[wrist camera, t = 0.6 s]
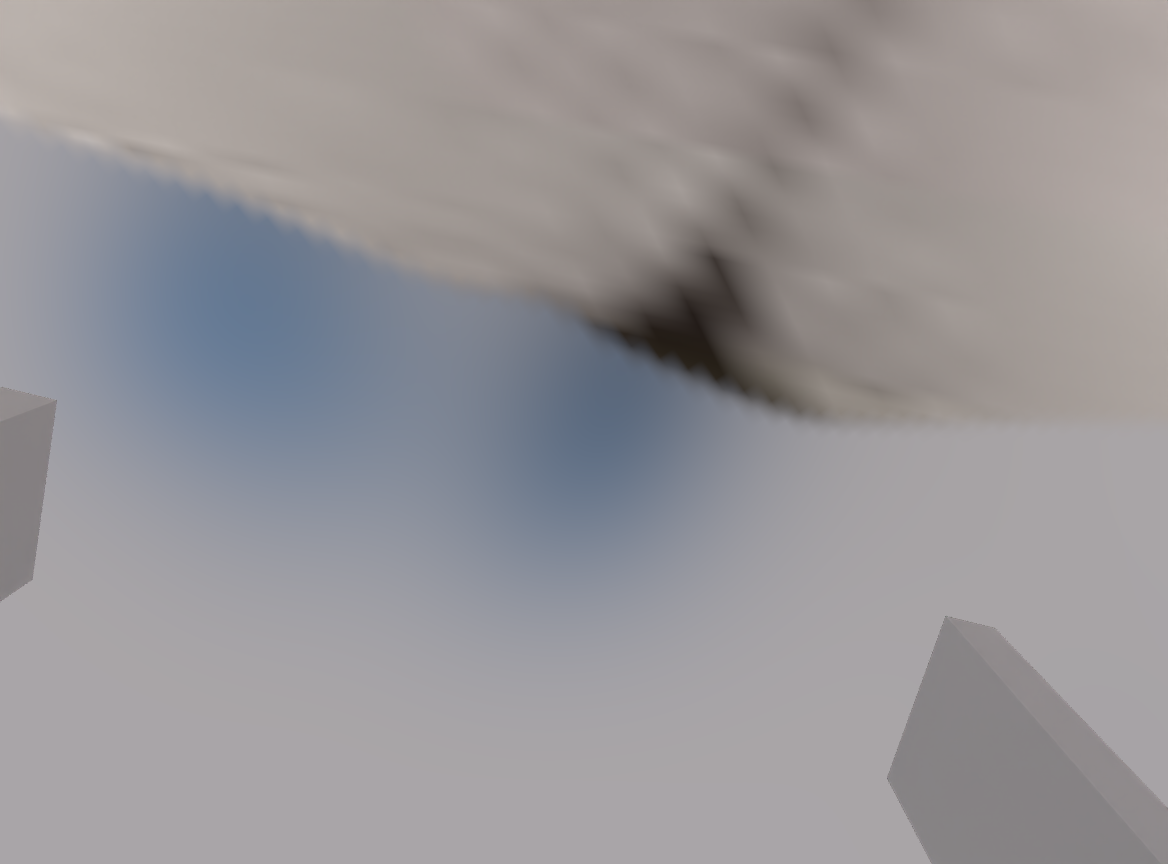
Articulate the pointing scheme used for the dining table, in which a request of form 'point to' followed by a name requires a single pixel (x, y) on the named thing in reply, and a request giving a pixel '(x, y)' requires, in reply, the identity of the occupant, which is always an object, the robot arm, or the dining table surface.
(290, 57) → the dining table surface
